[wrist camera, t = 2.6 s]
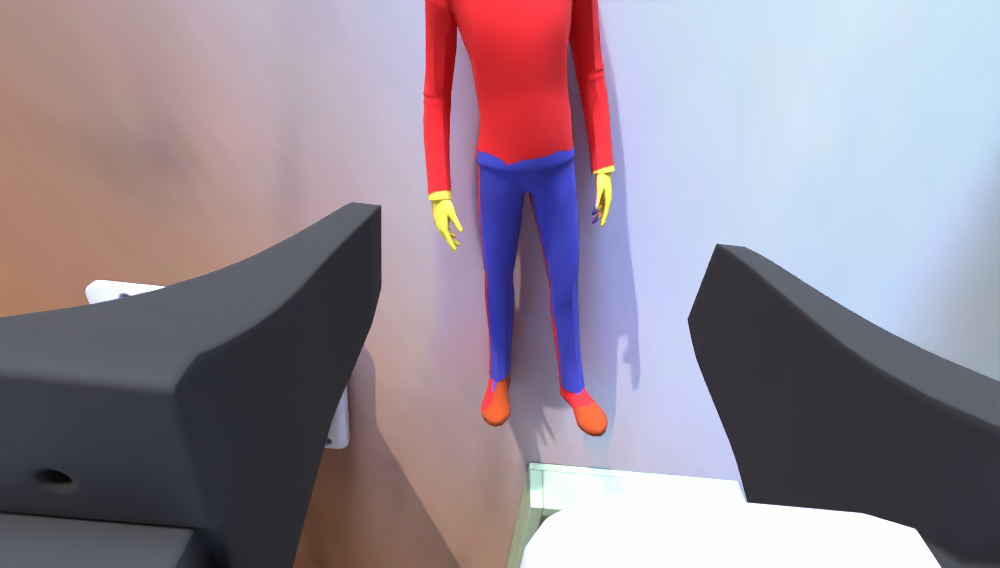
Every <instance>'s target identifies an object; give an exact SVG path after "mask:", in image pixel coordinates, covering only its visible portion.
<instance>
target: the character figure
mask: <svg viewBox="0 0 1000 568" xmlns="http://www.w3.org/2000/svg"><path fill="white" fill-rule="evenodd" d="M425 14H426V71H425V84H424V117H423V123H424V144H425V156H426V168H427V180H428V200H431V201H432V209H433V217H434V222H435V224H436V226H437V228H438V230H439V232H440V234H441V235H442V236H443V237H444V239H446V240H447V242H448V243H449V245H450V247H451V248H452V250H453V251H456V250H457V249H456V247H455V245H456V246H460V243H459V242H457V241H456V240H454V239H452V238H455V237H456V235H455V234H453V233H451V232H449V231H450V228H449V222H450V219H451V220H452V221H453V223H454V224H455V226H456V228H457V229H458V231H459V232H462V231H463V229H462V227H461V225H460V223H459V221H458V219H457V217H456V214H455V210H454V207H453V205H452V203H451V201H450V200H449V199H452V194H451V180H450V162H449V137H450V112H451V91H452V82H453V74H454V65H455V56H456V48H457V26H458V28H459V31H460V33H461V36H462V39H463V42H464V45H465V47H466V50H467V52H468V54H469V57H470V61H471V64H472V70H473V76H474V82H475V88H476V93H477V99H478V105H479V112H480V126H479V137H478V144H477V150H476V156H475V160H476V161H477V163H478V206H479V220H480V231H481V241H482V252H483V262H484V269H485V299H486V311H487V319H488V328H489V345H490V366H489V375H490V378H489V383H488V387H487V390H486V393H485V396H484V399H483V402H482V406H481V412H482V416H483V418H484V420H485V421H486V422H487V423H488V424H489V425H492V426H495V427H496V426H500V425H503V424H504V423H505V422H506V421H507V419H508V418H509V416H510V409H511V408H510V403H509V398H508V388H509V384H510V364H511V344H512V332H513V317H514V285H513V271H514V265H515V259H516V252H517V246H518V239H519V233H520V226H521V217H522V208H523V200H524V194H525V193H529V197H530V201H531V205H532V209H533V212H534V216H535V220H536V224H537V228H538V232H539V236H540V241H541V245H542V250H543V255H544V259H545V265H546V270H547V276H548V280H549V288H550V309H551V318H552V325H553V333H554V340H555V347H556V354H557V362H558V369H559V380H560V394H561V396H562V397H563V398H564V399H565V401H566V402H567V403H568V404H570V405H571V407H572V408H573V411H574V414H575V418H576V421H577V424H578V426H579V427H580V429H581V430H583V431H584V432H585V433H586V434H589V435H591V436H601V435H602V434H603V433H605V431H606V428H607V417H606V415H605V413H604V412H603V411H602V409H601V408H600V407H599V406H598V405H597V404H596V403H595V401H594V400H593V399H592V398H591V397H590V395H589V394H588V393H587V391H586V390H585V389H584V380H583V373H582V365H581V356H580V342H579V315H578V267H579V227H578V207H577V192H576V178H575V166H574V156H575V150H574V145H573V136H572V123H571V109H570V103H569V94H568V72H567V57H568V41H570V46H571V51H572V56H573V61H574V67H575V72H576V77H577V81H578V86H579V91H580V96H581V101H582V106H583V112H584V117H585V123H586V129H587V135H588V143H589V152H590V161H591V172H592V175H593V174H596V196H595V200H594V206H593V207H594V210H593V211H592V213H591V214H592V215H594V214H596V213H597V212H599V211H600V210H601V209H602V210H601V211H600V213H599V214H598V215H597V216H596V217H595V218H594V219H593V220H592V223H593V224H594V223H595V222H597V221H598V220H599V219H600V218H601V217H602V220H601V223H600V225H601V226H604V224H605V222H606V219H607V216H608V213H609V208H610V204H611V201H612V186H611V172H614V171H615V170H614V162H613V155H612V143H611V132H610V117H609V105H608V97H607V89H606V84H605V78H604V71H603V67H604V65H603V63H602V56H601V46H600V33H599V20H598V6H597V0H425ZM600 203H601V204H600ZM599 204H600V205H599ZM598 205H599V206H598ZM451 237H452V238H451Z"/></svg>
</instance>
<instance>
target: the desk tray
mask: <svg viewBox="0 0 1000 568" xmlns="http://www.w3.org/2000/svg"><path fill="white" fill-rule="evenodd" d="M635 493H647V494H658V495H669V496H680V497H691V498H702V499H713V500H723V501H734V502H745V500H744V497H743V495H742V492H741V490H740V487H739V484H738V482H737V481H729V480H718V479H707V478H696V477H685V476H674V475H663V474H651V473H640V472H629V471H618V470H607V469H596V468H585V467H574V466H563V465H552V464H541V463H529V466H528V471H527V476H526V480H525V485H524V489H523V494H522V499H521V503H520V508H519V512H518V517H517V521H516V526H515V531H514V535H513V540H512V544H511V549H510V554H509V558H508V563H507V567H506V568H520V565H521V561H522V557H523V553H524V549H525V546H526V545H527V544H528V542H529V541H530V540H531V538H532V537H533V536H534V534H535V533H536V532H537V530H538V529H539V528H540V526H541V525H542V524H543V522H544V521H545V520H546V519H547V518H548V517H550V516H551V515H552V514H554V513H556V512H559V511H561V510H563V509H565V508H568V507H570V506H572V505H575V504H577V503H579V502H581V501H584V500H586V499H588V498H591V497H593V496H607V495H621V494H635ZM745 503H746V502H745Z"/></svg>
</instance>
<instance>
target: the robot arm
mask: <svg viewBox="0 0 1000 568" xmlns="http://www.w3.org/2000/svg"><path fill="white" fill-rule="evenodd" d="M380 290H381V206H380V205H372V204H363V203H354V202H352V203H349V204H347V205H345V206H343V207H342V208H340V209H338V210H336V211H335V212H333V213H331V214H330V215H328V216H326V217H325V218H323V219H321V220H320V221H318V222H316V223H314V224H313V225H311V226H309V227H308V228H306V229H304V230H302V231H301V232H299V233H297V234H295V235H294V236H292V237H290V238H288V239H286V240H284V241H282V242H280V243H278V244H276V245H274V246H272V247H270V248H268V249H266V250H264V251H262V252H260V253H258V254H256V255H254V256H252V257H250V258H247V259H245V260H243V261H240V262H238V263H235V264H233V265H230V266H228V267H225V268H222V269H220V270H217V271H215V272H212V273H209V274H206V275H203V276H200V277H196V278H193V279H190V280H186V281H183V282H180V283H176V284H173V285H170V286H167V287H162V286H153V285H143V284H133V283H123V282H113V281H104V280H97V281H94V282H92V283H91V284H90V285H89V286H88V287H87V289H86V295H87V298H88V301H89V303H90V304H89V305H83V306H77V307H71V308H65V309H58V310H51V311H44V312H37V313H30V314H23V315H16V316H9V317H0V568H293V564H294V560H295V556H296V552H297V548H298V544H299V540H300V536H301V532H302V528H303V524H304V520H305V516H306V513H307V509H308V505H309V501H310V498H311V494H312V490H313V487H314V483H315V479H316V476H317V472H318V468H319V465H320V461H321V458H322V454H323V451H324V448H333V449H342V448H345V447H346V446H347V445H348V443H349V439H350V429H349V410H348V392H347V383H348V380H349V378H350V375H351V373H352V371H353V368H354V366H355V364H356V361H357V359H358V356H359V354H360V352H361V349H362V347H363V344H364V342H365V340H366V337H367V335H368V332H369V330H370V327H371V325H372V322H373V318H374V314H375V310H376V307H377V303H378V298H379V294H380ZM127 294H128V295H130V296H127ZM688 324H689V329H690V334H691V339H692V343H693V347H694V351H695V356H696V359H697V362H698V364H699V367H700V369H701V372H702V375H703V377H704V380H705V382H706V385H707V387H708V390H709V392H710V395H711V397H712V400H713V402H714V405H715V407H716V409H717V412H718V414H719V417H720V419H721V422H722V424H723V427H724V429H725V432H726V434H727V437H728V439H729V442H730V444H731V447H732V450H733V453H734V456H735V459H736V462H737V465H738V469H739V472H740V476H741V480H742V483H743V487H744V491H745V494H746V498H747V502H748V503H745V502H734V501H723V500H713V499H702V498H691V497H680V496H669V495H658V494H647V493H635V494H621V495H607V496H593V497H591V498H588V499H586V500H584V501H581V502H579V503H577V504H575V505H572V506H570V507H568V508H565V509H563V510H561V511H559V512H556V513H554V514H552V515H551V516H550V517H548V518H547V519H546V520H545V521H544V522H543V524H542V525H541V526H540V528H539V529H538V530H537V532H536V533H535V534H534V536H533V537H532V538H531V540H530V541H529V542H528V544H527V545H526V546H525V549H524V553H523V557H522V561H521V565H520V568H1000V382H999V381H997V380H994V379H992V378H989V377H987V376H984V375H982V374H979V373H977V372H975V371H972V370H970V369H967V368H965V367H963V366H960V365H958V364H955V363H953V362H950V361H948V360H946V359H944V358H942V357H939V356H937V355H935V354H933V353H930V352H928V351H926V350H924V349H922V348H920V347H918V346H916V345H914V344H912V343H910V342H908V341H906V340H904V339H902V338H900V337H898V336H896V335H894V334H892V333H890V332H888V331H886V330H884V329H882V328H880V327H878V326H877V325H875V324H873V323H871V322H869V321H868V320H866V319H864V318H862V317H861V316H859V315H857V314H856V313H854V312H852V311H850V310H849V309H847V308H845V307H843V306H842V305H840V304H839V303H837V302H835V301H834V300H832V299H830V298H829V297H827V296H825V295H824V294H822V293H821V292H819V291H818V290H816V289H814V288H813V287H811V286H810V285H808V284H806V283H805V282H803V281H802V280H800V279H799V278H797V277H796V276H794V275H792V274H791V273H789V272H788V271H786V270H785V269H783V268H781V267H780V266H778V265H777V264H775V263H773V262H772V261H770V260H768V259H767V258H765V257H763V256H762V255H760V254H758V253H756V252H754V251H752V250H750V249H748V248H745V247H740V246H731V245H722V244H716V247H715V249H714V252H713V254H712V257H711V260H710V262H709V265H708V267H707V270H706V273H705V275H704V278H703V281H702V283H701V286H700V288H699V291H698V294H697V296H696V299H695V301H694V304H693V307H692V309H691V312H690V314H689V317H688Z"/></svg>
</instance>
